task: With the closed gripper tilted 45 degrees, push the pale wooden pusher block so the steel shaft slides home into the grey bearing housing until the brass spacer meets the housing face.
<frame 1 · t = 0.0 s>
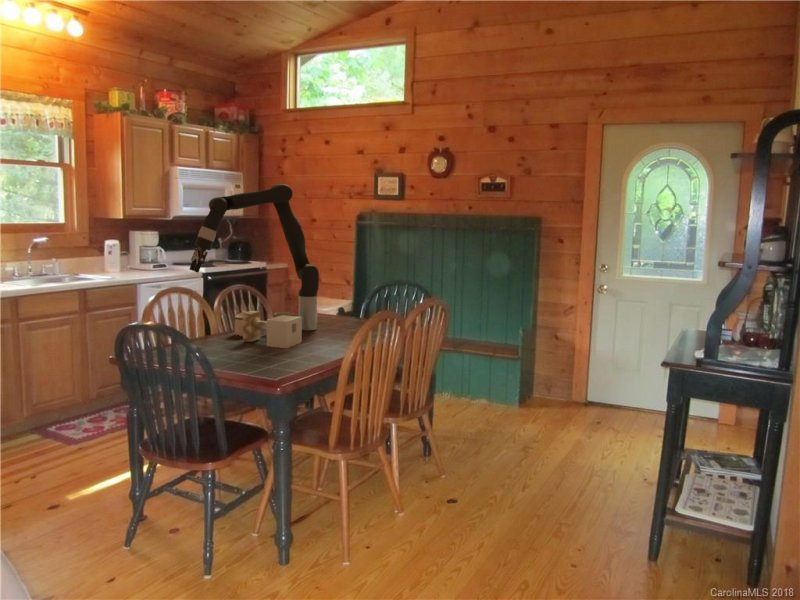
hand: (193, 271, 303), 31 cm above the table, tool tilted 20°, fingers open, 8 cm apart
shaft: (262, 327, 301), point 7 cm above the table, slide at -9.0 cm
teacup with lid: (244, 334, 320), on the table
bearing housing: (274, 343, 300), on the table
coffee mug: (280, 334, 322), on the table
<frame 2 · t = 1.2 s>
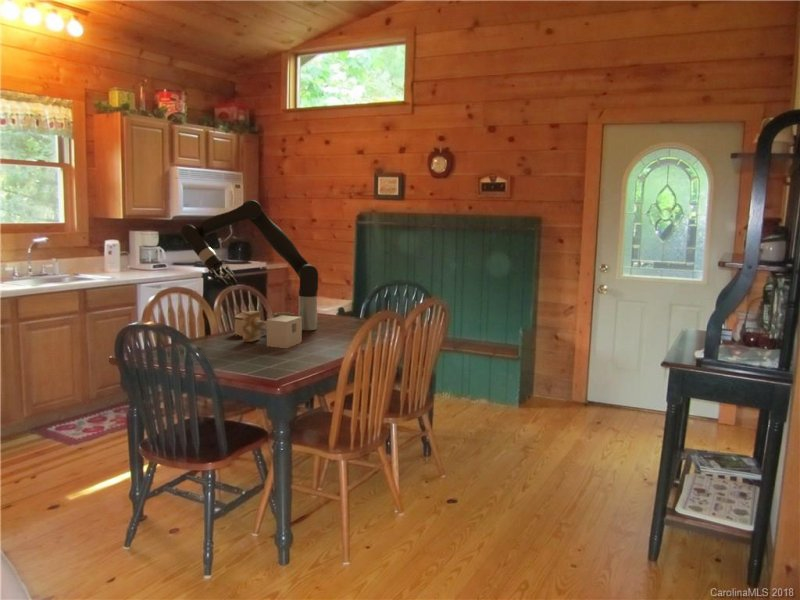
hand: (231, 285, 308), 25 cm above the table, tool tilted 45°, fingers open, 7 cm apart
nothing on the table moved.
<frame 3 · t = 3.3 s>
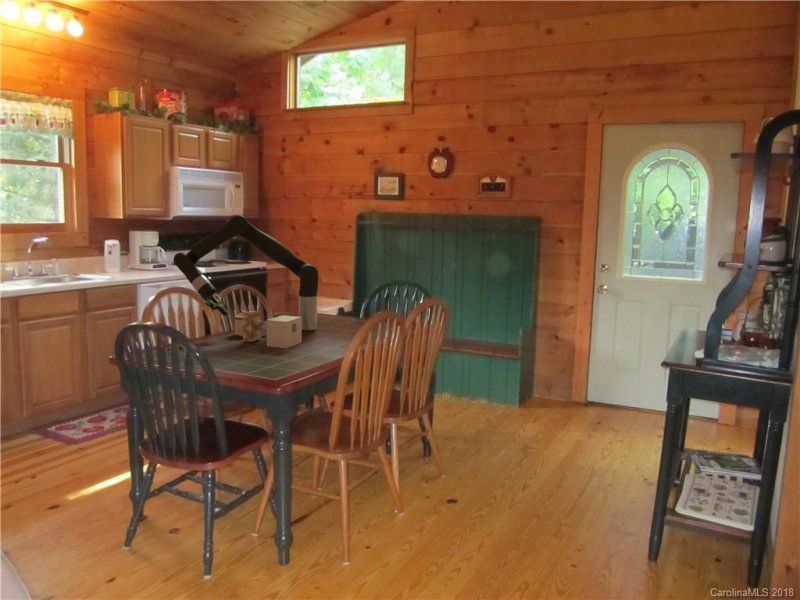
hand: (226, 314, 307), 11 cm above the table, tool tilted 45°, fingers closed
nothing on the table moved.
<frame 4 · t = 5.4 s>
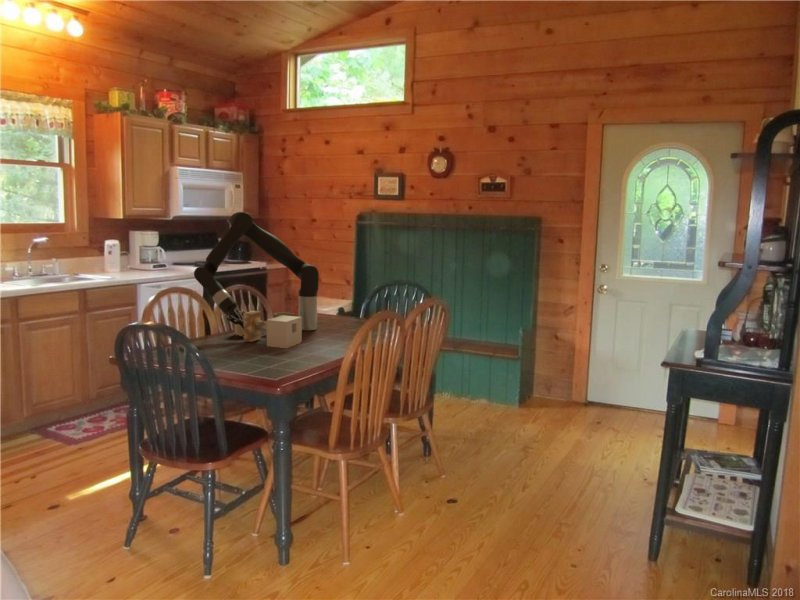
hand: (247, 329, 304), 5 cm above the table, tool tilted 45°, fingers closed
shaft: (262, 327, 301), point 7 cm above the table, slide at -8.6 cm, touching gripper
everything else where it was.
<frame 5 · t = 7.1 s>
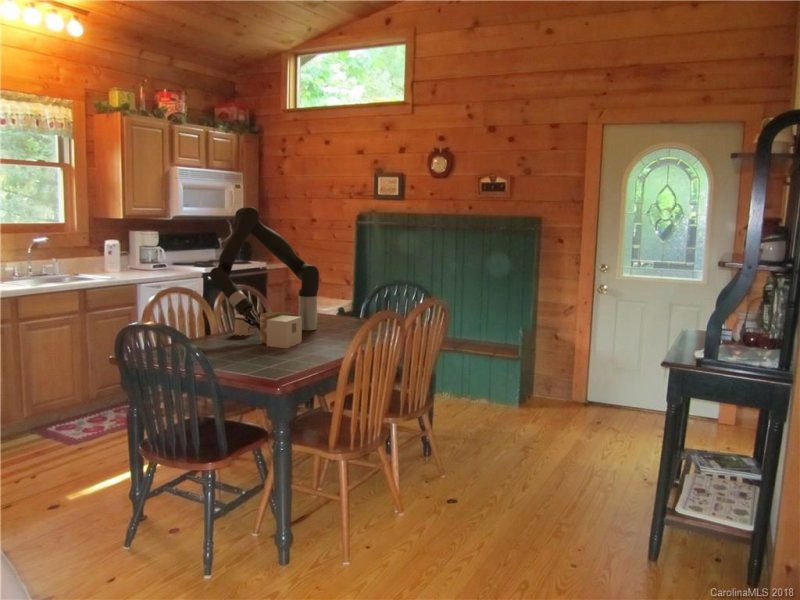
hand: (263, 330, 301), 5 cm above the table, tool tilted 45°, fingers closed
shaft: (279, 328, 298), point 7 cm above the table, slide at 0.0 cm, touching gripper
everything else where it was.
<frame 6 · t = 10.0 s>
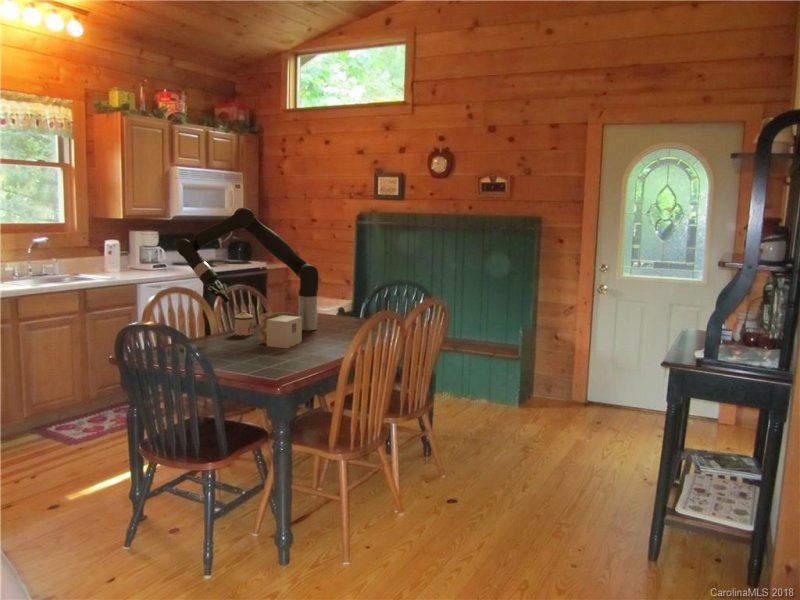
hand: (228, 301, 305), 18 cm above the table, tool tilted 45°, fingers closed
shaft: (279, 328, 298), point 7 cm above the table, slide at 0.0 cm
everything else where it was.
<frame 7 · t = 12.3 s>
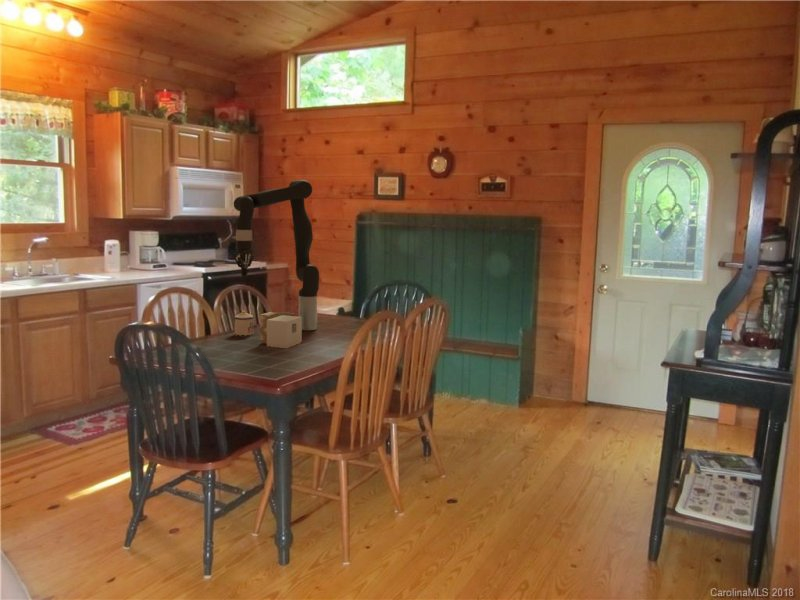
hand: (244, 276, 310), 29 cm above the table, tool pointing down, fingers closed
nothing on the table moved.
at the end: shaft slide at 0.0 cm; teacup with lid moved 0.2 cm from its start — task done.
